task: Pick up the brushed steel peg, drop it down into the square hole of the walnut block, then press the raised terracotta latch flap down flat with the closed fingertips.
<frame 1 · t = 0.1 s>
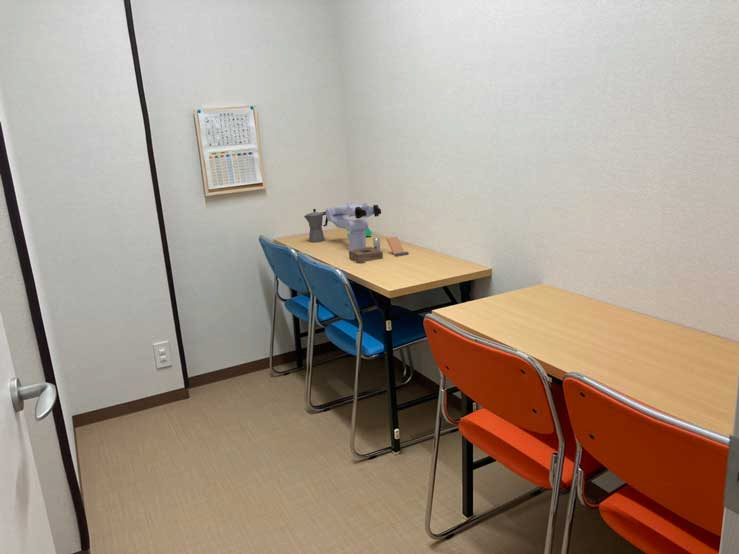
hand: (373, 212, 277), 22 cm above the table, tool horizontal, fingers open, 7 cm apart
steel peg: (377, 254, 288), on the table
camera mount: (359, 237, 332), on the table
latch flap: (395, 246, 284), point 4 cm above the table, hinge at 45.0°
latch bracket: (401, 256, 280), on the table
coffeepot: (318, 240, 329), on the table
hitch block: (365, 259, 279), on the table
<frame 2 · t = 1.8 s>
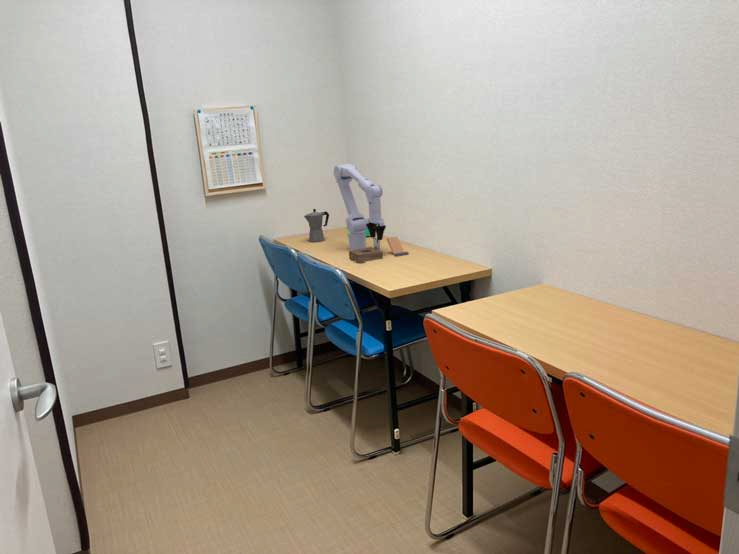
hand: (376, 238, 286), 8 cm above the table, tool pointing down, fingers open, 7 cm apart
nothing on the table moved.
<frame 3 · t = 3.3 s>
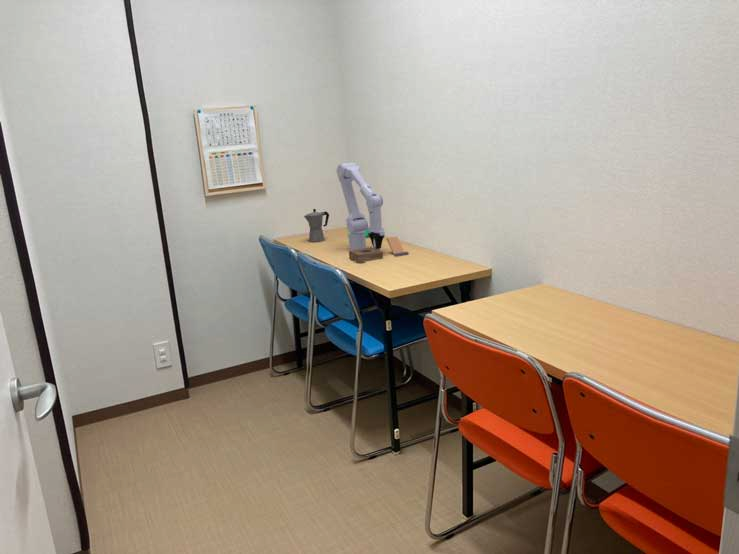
hand: (376, 247, 287), 3 cm above the table, tool pointing down, fingers closed on steel peg, 3 cm apart
steel peg: (377, 254, 288), on the table, touching gripper
everything else where it was.
when the fingers open (5 cm above the table, at t = 7.5 s): steel peg drops 2 cm, resting in hitch block.
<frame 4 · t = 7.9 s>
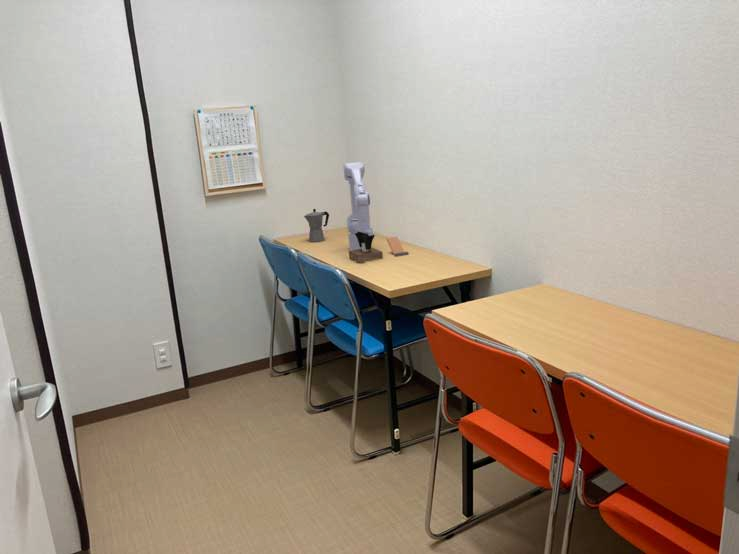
hand: (365, 248, 277), 5 cm above the table, tool pointing down, fingers open, 6 cm apart
steel peg: (366, 259, 279), resting in hitch block
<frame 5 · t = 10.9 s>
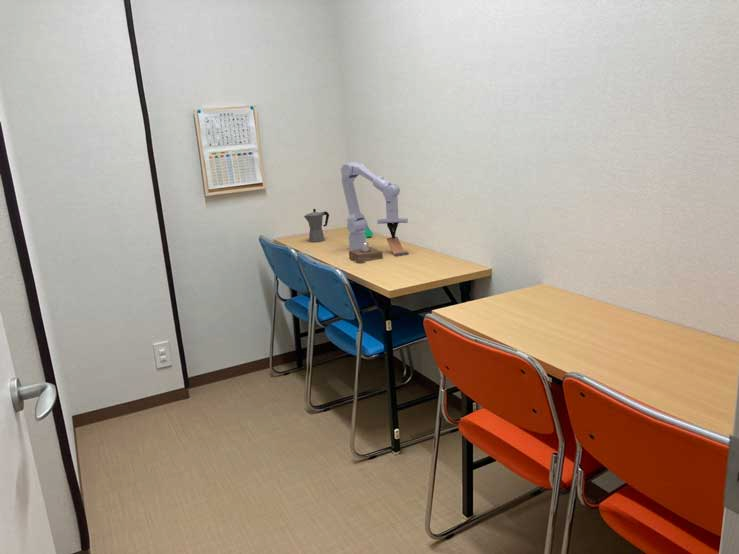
hand: (393, 238, 284), 8 cm above the table, tool pointing down, fingers closed
latch flap: (395, 246, 284), point 4 cm above the table, hinge at 45.0°, touching gripper
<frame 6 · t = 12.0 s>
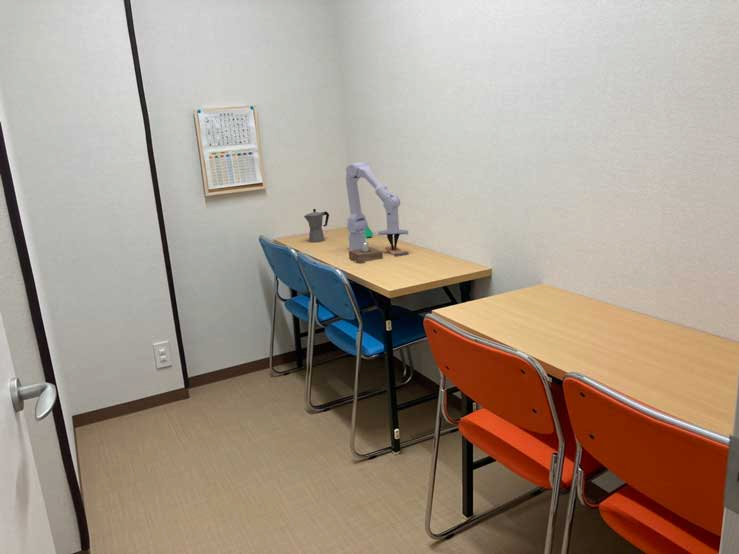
hand: (394, 249, 286), 2 cm above the table, tool pointing down, fingers closed, pressing on latch flap
latch flap: (394, 250, 285), point 2 cm above the table, hinge at 11.0°, touching gripper
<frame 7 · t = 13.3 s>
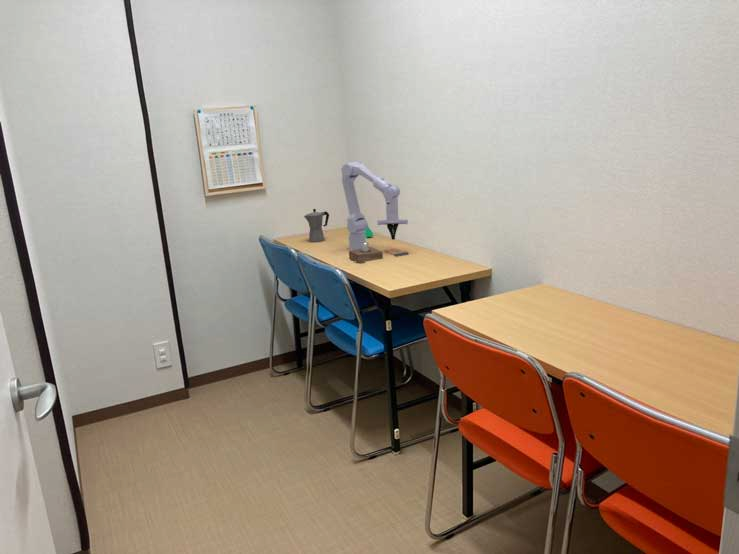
hand: (393, 239, 285), 7 cm above the table, tool pointing down, fingers closed
latch flap: (394, 252, 286), point 1 cm above the table, hinge at 3.1°
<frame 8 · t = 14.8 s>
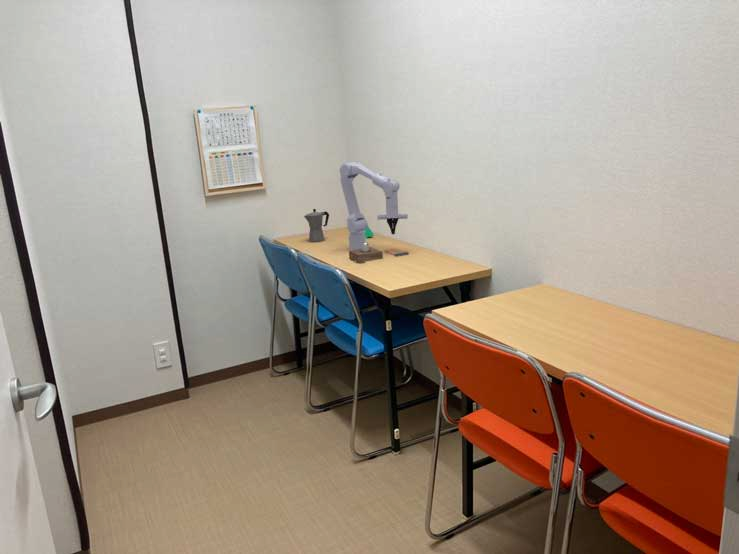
hand: (393, 233, 284), 10 cm above the table, tool pointing down, fingers closed
at the end: steel peg 0.1 cm off-centre on the hitch block, point 0.0 cm above the hitch block's base; steel peg tilted 0°; latch flap at +3° (first picture: +45°) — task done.
